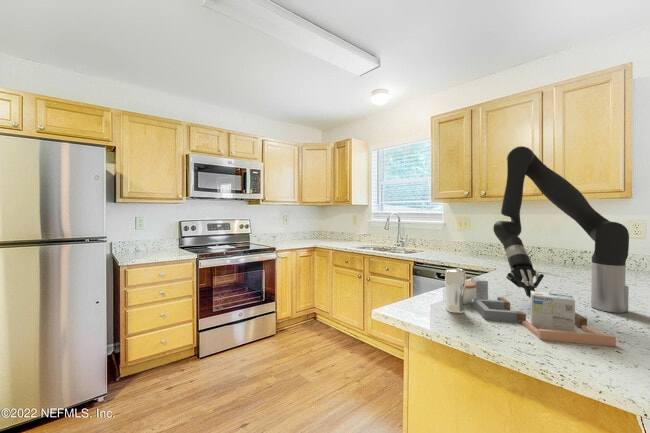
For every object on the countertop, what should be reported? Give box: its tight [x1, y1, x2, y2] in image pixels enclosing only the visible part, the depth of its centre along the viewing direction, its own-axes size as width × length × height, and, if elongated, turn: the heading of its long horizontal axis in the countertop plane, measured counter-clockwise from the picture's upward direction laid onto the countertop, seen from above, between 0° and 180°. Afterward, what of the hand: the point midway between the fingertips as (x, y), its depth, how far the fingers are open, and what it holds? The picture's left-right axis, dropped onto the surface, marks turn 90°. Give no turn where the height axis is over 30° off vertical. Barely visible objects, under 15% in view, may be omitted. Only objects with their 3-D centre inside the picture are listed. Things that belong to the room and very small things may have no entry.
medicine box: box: [470, 276, 489, 300], centre depth 122 cm, size 8×4×9 cm, turn 168°
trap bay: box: [472, 298, 518, 323], centre depth 104 cm, size 10×14×3 cm
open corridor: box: [496, 296, 588, 329], centre depth 103 cm, size 19×20×3 cm
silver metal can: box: [444, 268, 467, 314], centre depth 107 cm, size 7×7×15 cm
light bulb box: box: [530, 290, 576, 332], centre depth 91 cm, size 11×7×11 cm, turn 59°
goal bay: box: [521, 320, 617, 347], centre depth 86 cm, size 18×12×2 cm, turn 77°
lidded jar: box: [463, 280, 476, 305], centre depth 119 cm, size 11×11×9 cm
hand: (532, 296), depth 107 cm, fingers closed
